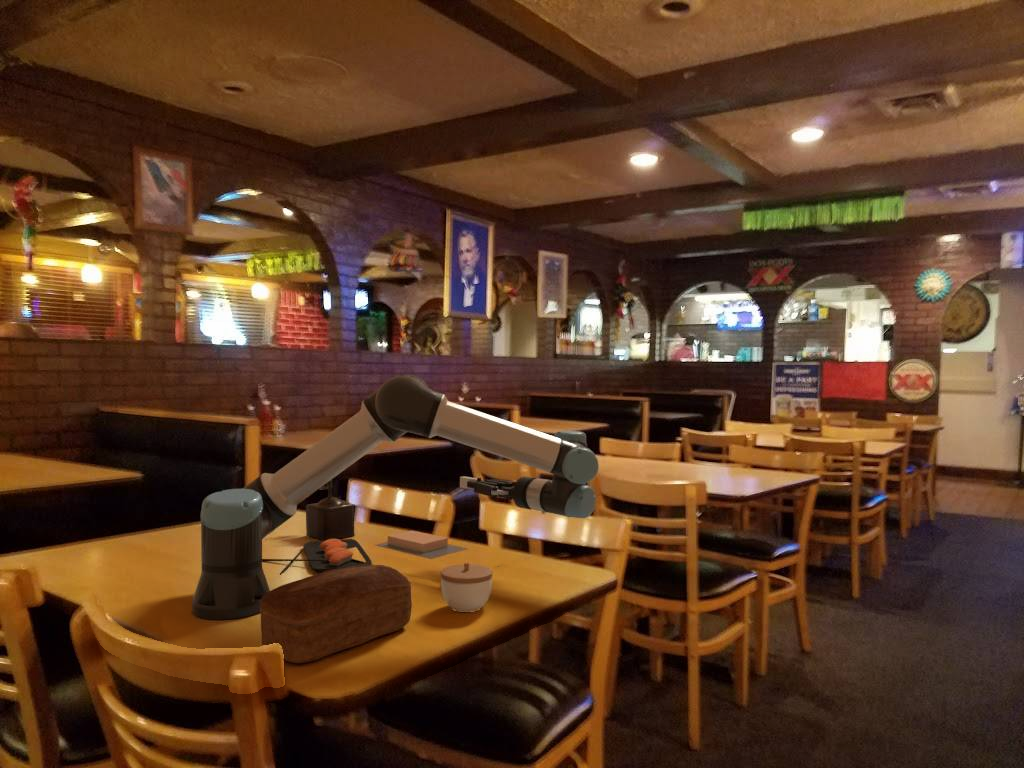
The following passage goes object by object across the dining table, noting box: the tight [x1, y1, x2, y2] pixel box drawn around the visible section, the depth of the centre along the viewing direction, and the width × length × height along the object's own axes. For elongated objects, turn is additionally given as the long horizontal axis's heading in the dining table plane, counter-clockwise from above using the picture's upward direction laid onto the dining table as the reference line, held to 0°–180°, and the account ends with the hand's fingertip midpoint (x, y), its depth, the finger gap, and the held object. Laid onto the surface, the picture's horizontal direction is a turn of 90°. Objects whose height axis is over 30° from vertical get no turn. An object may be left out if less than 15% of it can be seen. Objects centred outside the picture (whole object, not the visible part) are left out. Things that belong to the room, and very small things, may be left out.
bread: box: [260, 564, 413, 664], centre depth 134 cm, size 14×28×12 cm, turn 141°
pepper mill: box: [305, 479, 355, 541], centre depth 217 cm, size 16×11×18 cm
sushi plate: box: [262, 538, 373, 576], centre depth 188 cm, size 29×30×4 cm
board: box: [375, 541, 469, 560], centre depth 200 cm, size 22×14×1 cm, turn 51°
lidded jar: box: [439, 562, 493, 612], centre depth 152 cm, size 11×11×9 cm
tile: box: [387, 530, 449, 553], centre depth 200 cm, size 2×9×14 cm
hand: (461, 481), depth 190 cm, fingers closed
